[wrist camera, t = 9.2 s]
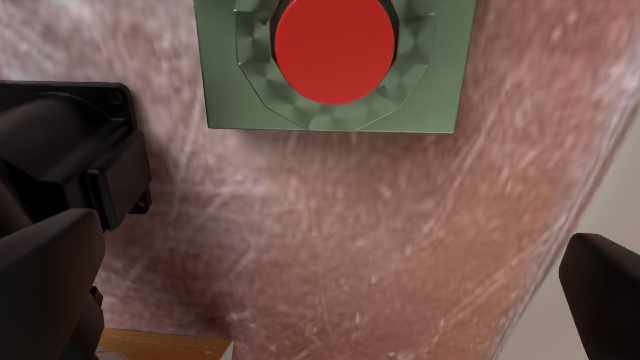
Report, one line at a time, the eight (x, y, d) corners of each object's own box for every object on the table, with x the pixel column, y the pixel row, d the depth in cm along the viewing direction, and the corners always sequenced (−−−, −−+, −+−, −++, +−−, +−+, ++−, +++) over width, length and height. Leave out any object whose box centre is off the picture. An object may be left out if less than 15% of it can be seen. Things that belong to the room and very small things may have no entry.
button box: (219, 110, 20) (195, 147, 17) (198, -100, 16) (162, -110, 13) (442, 115, 20) (467, 153, 16) (475, -95, 16) (515, -104, 13)
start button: (281, 88, 16) (276, 104, 14) (278, -24, 14) (272, -19, 13) (383, 90, 16) (389, 107, 14) (393, -22, 14) (400, -16, 13)
